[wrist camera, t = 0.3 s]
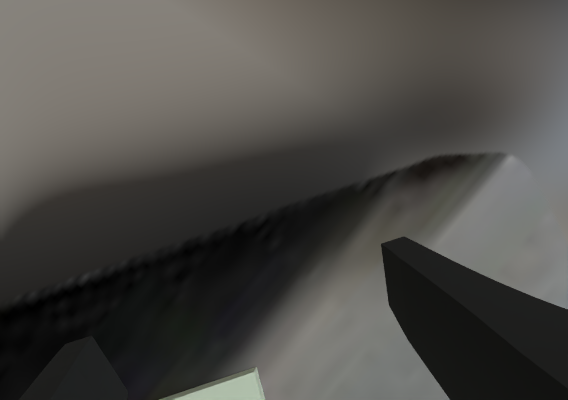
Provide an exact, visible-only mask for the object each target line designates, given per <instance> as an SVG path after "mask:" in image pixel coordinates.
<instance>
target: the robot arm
mask: <svg viewBox="0 0 568 400" xmlns="http://www.w3.org/2000/svg"><path fill="white" fill-rule="evenodd" d="M381 247H382V255H383V263H384V270H385V278H386V286H387V293H388V301H389V306H390V308H391V310H392V311H393V313H394V315H395V317H396V319H397V321H398V323H399V325H400V326H401V328H402V330H403V332H404V334H405V335H406V337H407V339H408V341H409V342H410V343H411V345H412V346H413V348H414V349H415V351H416V352H417V354H418V355H419V356H420V358H421V359H422V361H423V362H424V363H425V365H426V366H427V368H428V369H429V371H430V372H431V373H432V375H433V376H434V378H435V379H436V380H437V382H438V383H439V385H440V386H441V387H442V389H443V390H444V392H445V393H446V394H447V396H448V397H449V399H450V400H568V309H565V308H562V307H559V306H556V305H554V304H551V303H548V302H546V301H543V300H540V299H538V298H535V297H533V296H530V295H528V294H526V293H523V292H521V291H518V290H516V289H513V288H511V287H509V286H506V285H504V284H502V283H499V282H497V281H495V280H493V279H490V278H488V277H486V276H484V275H481V274H479V273H477V272H475V271H473V270H471V269H469V268H467V267H464V266H462V265H460V264H458V263H456V262H454V261H452V260H450V259H448V258H446V257H444V256H442V255H440V254H438V253H436V252H434V251H432V250H430V249H428V248H426V247H424V246H422V245H420V244H418V243H416V242H414V241H412V240H410V239H408V238H406V237H401V238H398V239H395V240H391V241H388V242H385V243H382V244H381ZM19 400H128V391H127V390H126V388H125V386H124V385H123V383H122V382H121V380H120V379H119V377H118V376H117V374H116V372H115V371H114V369H113V368H112V366H111V365H110V363H109V362H108V360H107V359H106V357H105V355H104V354H103V352H102V351H101V349H100V348H99V346H98V345H97V343H96V342H95V340H94V338H93V337H92V336H90V337H87V338H83V339H80V340H77V341H74V342H71V343H68V344H65V346H64V347H63V348H62V349H61V350H60V351H59V352H58V353H57V354H56V356H55V357H54V358H53V359H52V360H51V361H50V363H49V364H48V365H47V366H46V367H45V369H44V370H43V371H42V372H41V373H40V375H39V376H38V377H37V378H36V380H35V381H34V382H33V383H32V385H31V386H30V387H29V388H28V389H27V391H26V392H25V393H24V394H23V396H22V397H21V398H20V399H19Z"/></svg>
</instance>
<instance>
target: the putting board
mask: <svg viewBox="0 0 568 400" xmlns="http://www.w3.org/2000/svg"><path fill="white" fill-rule="evenodd" d="M160 400H265V397H264V393H263V389H262V386H261V382H260V378H259V375H258V371H257V367H254V368H251V369H248V370H245V371H242V372H239V373H237V374H234V375H231V376H228V377H225V378H222V379H219V380H216V381H213V382H210V383H207V384H204V385H201V386H198V387H195V388H192V389H189V390H186V391H183V392H180V393H177V394H174V395H171V396H168V397H165V398H163V399H160Z"/></svg>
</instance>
